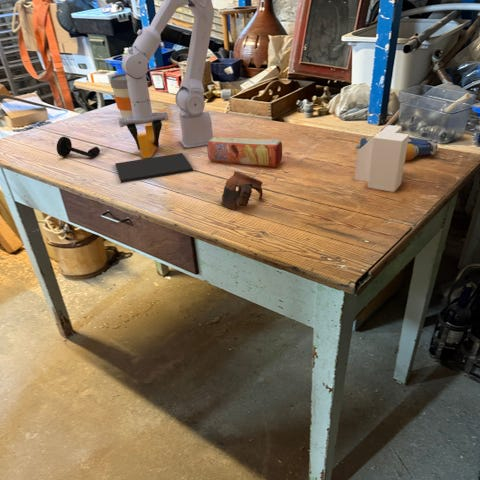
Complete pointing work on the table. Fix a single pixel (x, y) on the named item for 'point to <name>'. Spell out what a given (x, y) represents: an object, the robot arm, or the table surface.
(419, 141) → the spray gun
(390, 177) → the corner bracket
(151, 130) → the pipe clamp
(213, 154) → the snack package
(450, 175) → the table surface
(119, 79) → the reusable coffee cup
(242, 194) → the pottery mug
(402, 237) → the table surface
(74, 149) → the light fixture
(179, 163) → the mat
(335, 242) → the table surface
